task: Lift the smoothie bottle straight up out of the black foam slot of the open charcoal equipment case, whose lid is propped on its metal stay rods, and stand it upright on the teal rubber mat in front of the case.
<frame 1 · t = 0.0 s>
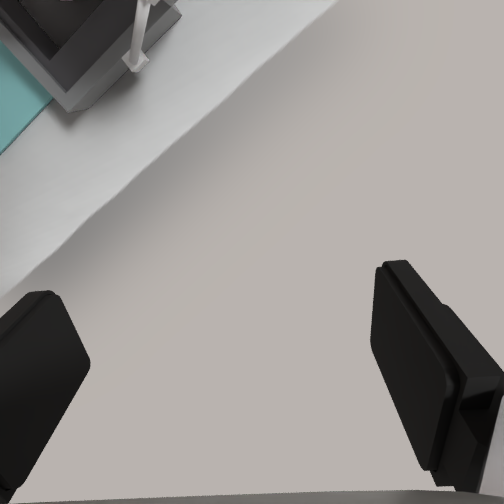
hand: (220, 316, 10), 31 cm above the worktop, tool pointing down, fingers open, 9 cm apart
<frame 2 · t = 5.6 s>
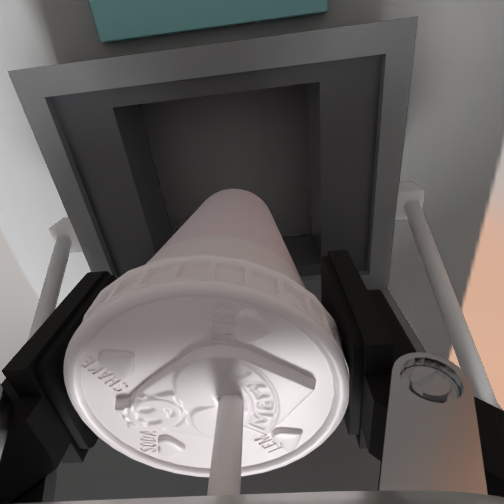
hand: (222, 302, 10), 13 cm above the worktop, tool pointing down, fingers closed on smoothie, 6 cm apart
smoothie: (234, 224, 16), point 7 cm above the worktop, touching gripper
case: (233, 174, 21), on the worktop
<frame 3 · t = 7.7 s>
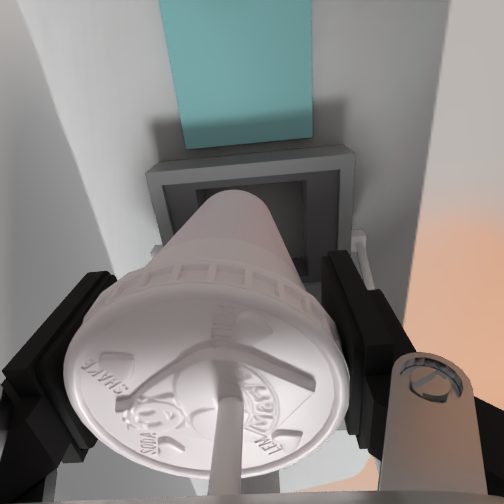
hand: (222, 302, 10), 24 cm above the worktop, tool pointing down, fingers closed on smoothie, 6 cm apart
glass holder: (265, 463, 56), on the worktop
smoothie: (234, 225, 16), point 18 cm above the worktop, touching gripper
mat: (241, 71, 28), on the worktop
case: (256, 220, 35), on the worktop
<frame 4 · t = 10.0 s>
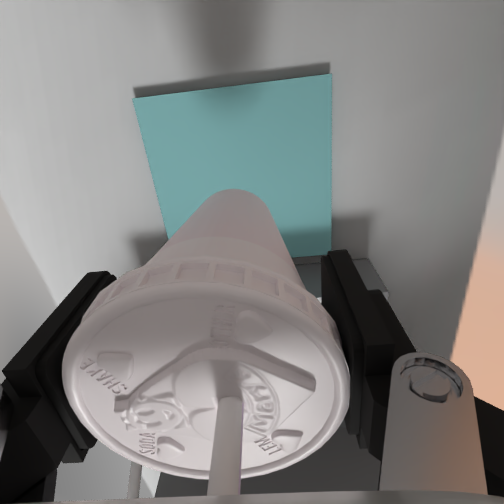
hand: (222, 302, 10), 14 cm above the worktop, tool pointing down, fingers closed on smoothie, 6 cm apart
smoothie: (234, 224, 16), point 8 cm above the worktop, touching gripper
mat: (242, 182, 23), on the worktop
case: (261, 335, 29), on the worktop
when the fingers open (7 cm above the worktop, at t = 11.8 s): smoothie stays where it is, resting on mat.
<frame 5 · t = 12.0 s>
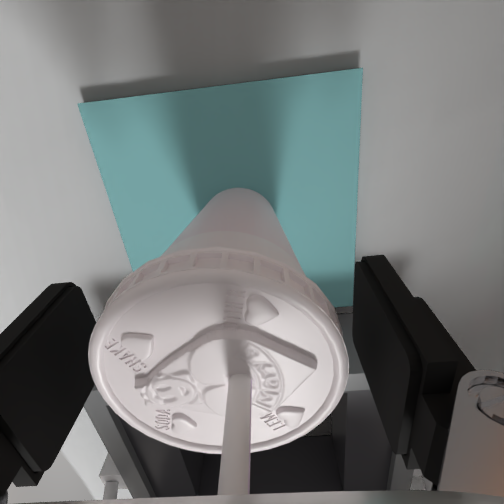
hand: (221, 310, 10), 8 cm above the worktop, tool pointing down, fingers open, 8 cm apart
smoothie: (239, 221, 17), resting on mat
mat: (236, 215, 17), on the worktop
case: (261, 396, 23), on the worktop
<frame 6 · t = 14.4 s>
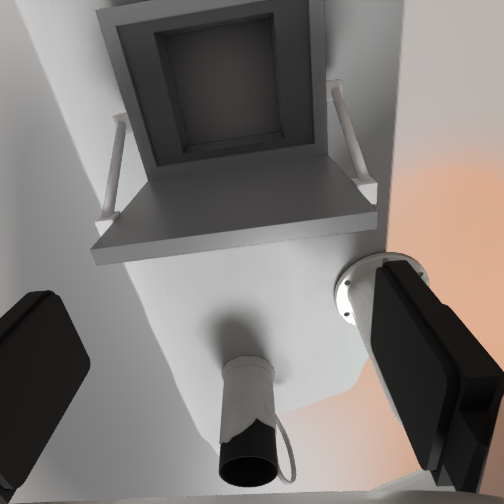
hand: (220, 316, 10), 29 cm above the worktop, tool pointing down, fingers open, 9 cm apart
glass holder: (259, 381, 55), on the worktop
case: (226, 86, 33), on the worktop
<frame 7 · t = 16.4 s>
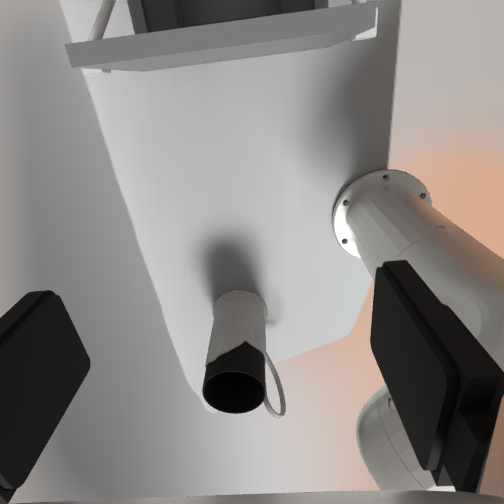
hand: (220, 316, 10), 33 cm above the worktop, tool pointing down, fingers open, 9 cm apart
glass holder: (251, 321, 53), on the worktop
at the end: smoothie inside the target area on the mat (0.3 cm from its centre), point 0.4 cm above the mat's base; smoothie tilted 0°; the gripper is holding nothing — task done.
